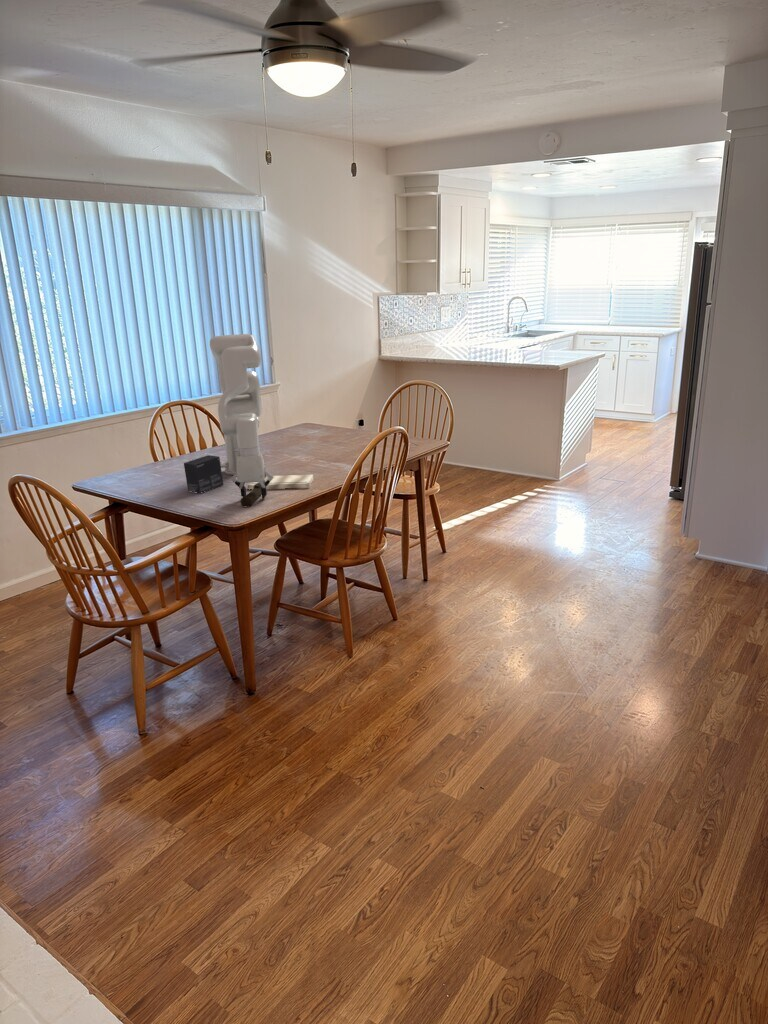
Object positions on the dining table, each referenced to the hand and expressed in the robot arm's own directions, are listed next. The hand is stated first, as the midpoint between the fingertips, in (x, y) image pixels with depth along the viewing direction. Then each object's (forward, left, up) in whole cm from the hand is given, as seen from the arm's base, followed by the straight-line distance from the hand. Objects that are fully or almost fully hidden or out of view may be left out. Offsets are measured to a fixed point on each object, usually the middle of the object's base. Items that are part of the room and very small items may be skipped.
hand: (254, 497), depth 264 cm
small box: (-23, +16, -1) cm, 28 cm away
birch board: (+7, +18, -1) cm, 19 cm away
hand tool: (-1, 0, -1) cm, 1 cm away
